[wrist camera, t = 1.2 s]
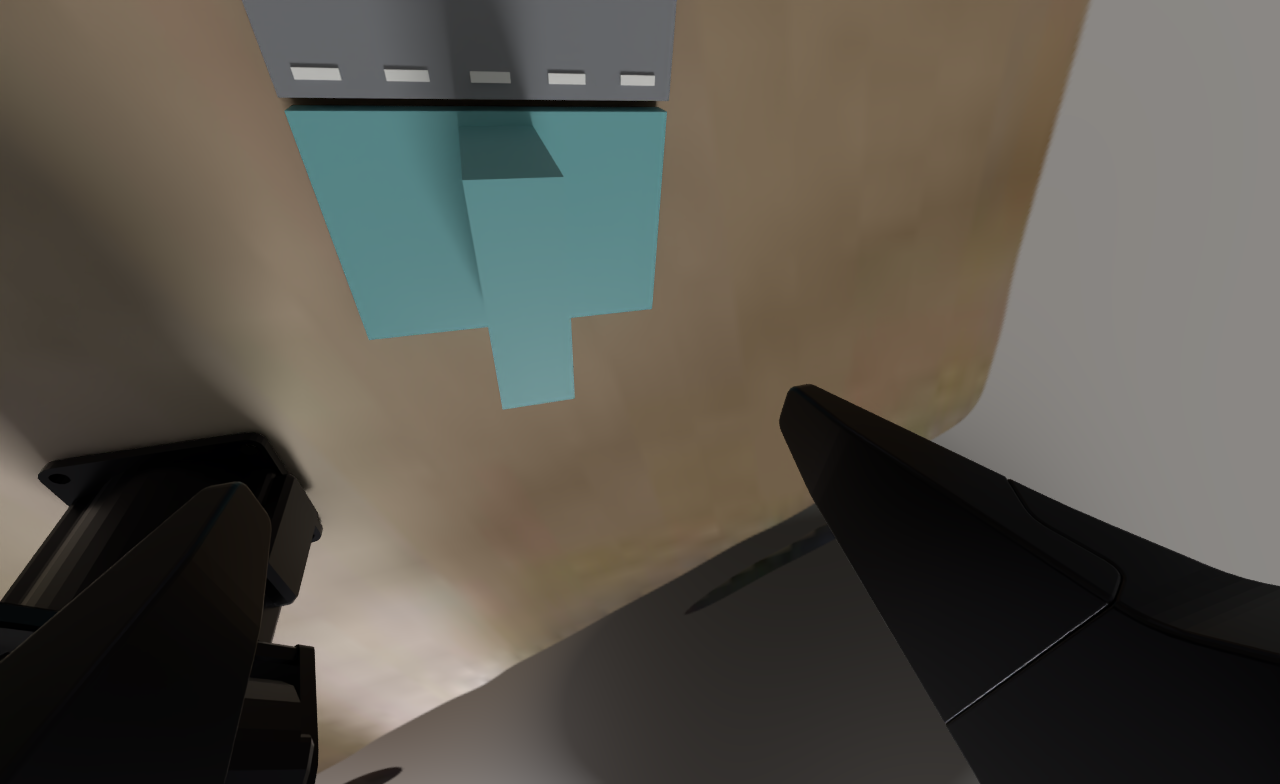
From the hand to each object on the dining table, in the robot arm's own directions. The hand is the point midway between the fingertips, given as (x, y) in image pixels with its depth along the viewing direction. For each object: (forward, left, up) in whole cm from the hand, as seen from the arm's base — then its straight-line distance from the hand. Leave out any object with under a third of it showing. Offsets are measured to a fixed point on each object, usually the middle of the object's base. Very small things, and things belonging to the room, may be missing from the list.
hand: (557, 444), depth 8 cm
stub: (0, 0, -11) cm, 11 cm away
